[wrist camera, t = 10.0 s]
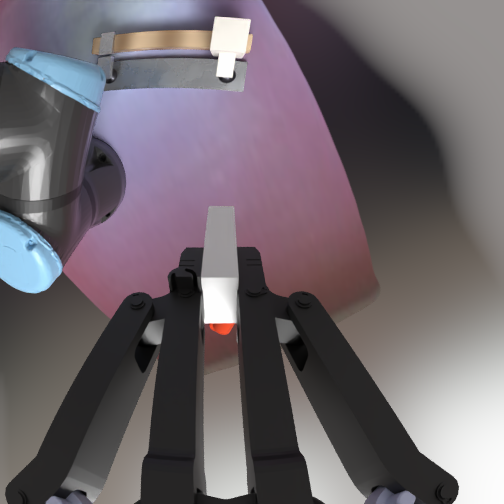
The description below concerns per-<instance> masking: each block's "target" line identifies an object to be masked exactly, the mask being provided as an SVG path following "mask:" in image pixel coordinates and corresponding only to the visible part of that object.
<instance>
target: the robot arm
mask: <svg viewBox="0 0 504 504" xmlns="http://www.w3.org/2000/svg"><path fill="white" fill-rule="evenodd" d="M5 60H7V61H6V62H0V278H1V279H3V280H4V281H5V282H6V283H8V284H9V285H11V286H12V287H14V288H16V289H19V290H21V291H24V292H28V293H38V292H41V291H44V290H46V289H47V288H48V287H50V285H51V284H52V283H53V282H54V280H55V279H56V278H57V277H58V276H59V275H60V274H61V272H62V269H63V267H64V265H65V264H66V262H67V261H68V259H69V258H70V256H71V254H72V253H73V251H74V250H75V248H76V247H77V245H78V244H79V242H80V241H81V240H82V238H83V237H84V235H85V234H86V232H87V231H88V230H89V229H90V228H92V227H94V226H96V225H99V224H101V223H103V222H104V221H106V220H107V219H109V218H110V217H111V216H112V215H113V214H114V212H115V211H116V210H117V208H118V207H119V205H120V204H121V202H122V200H123V197H124V194H125V188H126V177H125V172H124V168H123V165H122V163H121V161H120V159H119V157H118V156H117V154H116V153H115V152H114V150H113V149H112V148H111V147H110V146H108V145H107V144H106V143H104V142H103V141H101V140H98V139H96V138H92V134H93V130H94V126H95V122H96V119H97V115H98V113H100V110H101V109H100V102H101V98H102V94H103V91H104V87H105V83H106V74H105V71H104V70H103V69H102V68H101V67H100V66H99V65H96V64H93V63H90V62H86V61H82V60H78V59H74V58H70V57H66V56H62V55H57V54H52V53H47V52H41V51H36V50H30V49H24V48H17V47H15V48H13V49H11V50H10V52H9V54H8V55H7V56H6V59H5ZM168 282H169V288H170V293H169V294H167V295H165V296H162V297H158V298H154V299H152V298H151V297H150V295H149V294H146V293H142V292H137V293H133V294H131V295H129V296H127V297H126V298H125V299H124V301H123V302H122V304H121V305H120V307H119V308H118V310H117V311H116V313H115V314H114V316H113V317H112V319H111V320H110V322H109V324H108V325H107V327H106V328H105V330H104V331H103V333H102V335H101V336H100V338H99V339H98V341H97V343H96V344H95V346H94V348H93V349H92V351H91V353H90V354H89V356H88V358H87V359H86V361H85V363H84V365H83V366H82V368H81V370H80V371H79V373H78V375H77V377H76V379H75V381H74V382H73V384H72V386H71V387H70V389H69V391H68V393H67V395H66V397H65V399H64V400H63V402H62V404H61V406H60V408H59V410H58V412H57V414H56V416H55V418H54V420H53V422H52V424H51V426H50V428H49V430H48V432H47V434H46V436H45V438H44V441H43V443H42V445H41V447H40V449H39V452H38V454H37V456H36V457H35V458H34V459H33V460H32V461H31V462H30V463H29V464H28V465H27V466H26V467H25V468H24V469H23V470H22V471H21V472H20V473H19V474H18V475H17V476H16V477H15V478H14V479H13V480H12V481H11V482H10V483H9V484H8V485H7V487H6V492H5V496H6V500H7V502H8V504H93V502H94V501H95V500H96V499H97V497H98V495H99V494H100V492H101V491H102V489H103V486H104V484H105V482H106V480H107V477H108V474H109V472H110V468H111V466H112V464H113V461H114V458H115V456H116V453H117V451H118V448H119V446H120V443H121V441H122V438H123V435H124V433H125V431H126V428H127V426H128V423H129V420H130V418H131V416H132V414H133V411H134V409H135V407H136V404H137V402H138V399H139V397H140V395H141V392H142V390H143V388H144V386H145V383H146V381H147V378H148V376H149V374H150V372H151V370H152V367H153V365H154V363H155V361H156V358H157V356H158V354H159V360H158V367H157V374H156V382H155V390H154V398H153V407H152V417H151V427H150V428H151V429H150V439H149V451H148V454H147V455H146V456H145V457H144V460H143V463H142V475H141V499H140V500H138V501H137V502H136V503H134V504H325V503H323V502H322V501H320V500H318V499H317V498H315V497H312V492H311V487H310V481H309V475H308V470H307V465H306V461H305V459H304V456H303V455H302V454H301V453H300V451H299V447H298V442H297V437H296V431H295V425H294V419H293V414H292V408H291V402H290V397H289V391H288V386H287V380H286V375H285V369H284V364H283V358H282V353H281V347H280V344H281V346H282V348H283V350H284V352H285V354H286V356H287V358H288V360H289V362H290V364H291V366H292V368H293V370H294V372H295V374H296V376H297V378H298V380H299V381H300V383H301V386H302V387H303V389H304V391H305V393H306V395H307V397H308V399H309V401H310V403H311V405H312V406H313V409H314V411H315V413H316V414H317V416H318V418H319V420H320V422H321V424H322V426H323V428H324V430H325V432H326V434H327V435H328V438H329V439H330V441H331V443H332V445H333V447H334V449H335V451H336V453H337V454H338V456H339V458H340V460H341V462H342V464H343V466H344V468H345V469H346V471H347V473H348V475H349V477H350V478H351V480H352V482H353V483H354V485H355V486H356V487H357V489H358V490H359V491H360V492H361V493H362V494H363V495H364V496H365V497H366V498H367V500H366V501H365V503H364V504H452V503H453V502H454V501H455V500H456V497H457V495H458V490H459V486H458V483H457V480H456V479H455V478H454V477H453V476H452V475H450V474H449V473H448V472H446V471H444V470H443V469H442V468H441V467H439V466H438V465H436V464H435V463H434V462H432V461H431V460H430V459H428V458H427V457H426V456H424V455H423V454H422V453H420V452H419V451H418V449H417V447H416V446H415V444H414V442H413V441H412V439H411V438H410V436H409V435H408V433H407V431H406V430H405V428H404V427H403V425H402V423H401V422H400V420H399V419H398V417H397V416H396V414H395V413H394V411H393V409H392V408H391V406H390V405H389V403H388V402H387V401H386V399H385V397H384V396H383V394H382V393H381V391H380V390H379V388H378V387H377V385H376V384H375V382H374V381H373V379H372V377H371V376H370V375H369V373H368V372H367V370H366V369H365V367H364V366H363V364H362V363H361V361H360V360H359V358H358V357H357V355H356V354H355V352H354V351H353V349H352V348H351V346H350V345H349V343H348V342H347V340H346V339H345V338H344V336H343V335H342V333H341V332H340V330H339V329H338V327H337V326H336V324H335V323H334V322H333V320H332V319H331V317H330V316H329V314H328V313H327V312H326V310H325V309H324V307H323V306H322V304H321V303H320V302H319V300H318V299H317V298H316V297H315V296H314V295H312V294H310V293H308V292H303V291H301V292H295V293H293V294H291V295H290V296H289V298H287V297H282V296H278V295H276V294H274V293H272V292H271V291H269V288H268V287H267V286H266V283H265V278H264V272H263V267H262V261H261V256H260V252H259V251H258V250H257V249H256V248H255V247H237V245H236V230H235V214H234V206H209V208H208V216H207V225H206V233H205V242H204V248H186V249H185V250H184V251H183V252H182V253H181V257H180V262H179V267H178V268H176V269H174V270H172V271H171V272H170V273H169V275H168ZM204 322H205V323H237V342H238V357H239V373H240V388H241V402H242V415H243V428H244V441H245V452H246V465H247V485H248V494H247V495H243V496H239V497H235V498H231V499H220V498H215V497H211V496H207V495H206V480H205V473H204V441H203V440H204V439H203V438H204V434H203V392H204V391H203V390H204V345H205V328H204ZM159 352H160V353H159Z"/></svg>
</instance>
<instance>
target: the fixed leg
mask: <svg viewBox="0 0 504 504" xmlns="http://www.w3.org/2000/svg"><path fill="white" fill-rule="evenodd" d="M115 36H116V32H115V31H114V32H107V33H101V40H100V48H99V55H107V54H113V51H114V43H115ZM113 60H114V56H108V57H101V58H98V65H99V66H100V67H101V68H102V69H103V70H104V71H105V74H106V79H110V78H112V71H113Z"/></svg>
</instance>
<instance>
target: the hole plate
mask: <svg viewBox="0 0 504 504" xmlns="http://www.w3.org/2000/svg"><path fill="white" fill-rule="evenodd" d="M96 65H98V64H96ZM217 66H218V60H217V59H198V58H156V59H138V60H125V61H115V62H113V71H112V78H110V79H106V83H105V87H104V91H109V90H121V89H138V88H198V89H216V90H228V91H239V92H243V89H244V82H245V75H246V69H247V62H240V61H235V63H234V70H233V77H232V78H229V77H227V78H223V77H216V73H217Z"/></svg>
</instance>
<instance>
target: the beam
mask: <svg viewBox="0 0 504 504" xmlns="http://www.w3.org/2000/svg"><path fill="white" fill-rule="evenodd" d="M212 32H213V31H203V30H166V31H148V32H136V33H126V34H118V35H116V36H115V43H114V51H113V53H120V52H130V51H143V50H163V49H196V50H210V45H211V39H212ZM252 36H253V35H252V34H248V40H247V47H246V53H249V52H250V49H251V42H252ZM100 40H101V37H99V38H94V39H93V46H92V54H95V55H99V48H100Z"/></svg>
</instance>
